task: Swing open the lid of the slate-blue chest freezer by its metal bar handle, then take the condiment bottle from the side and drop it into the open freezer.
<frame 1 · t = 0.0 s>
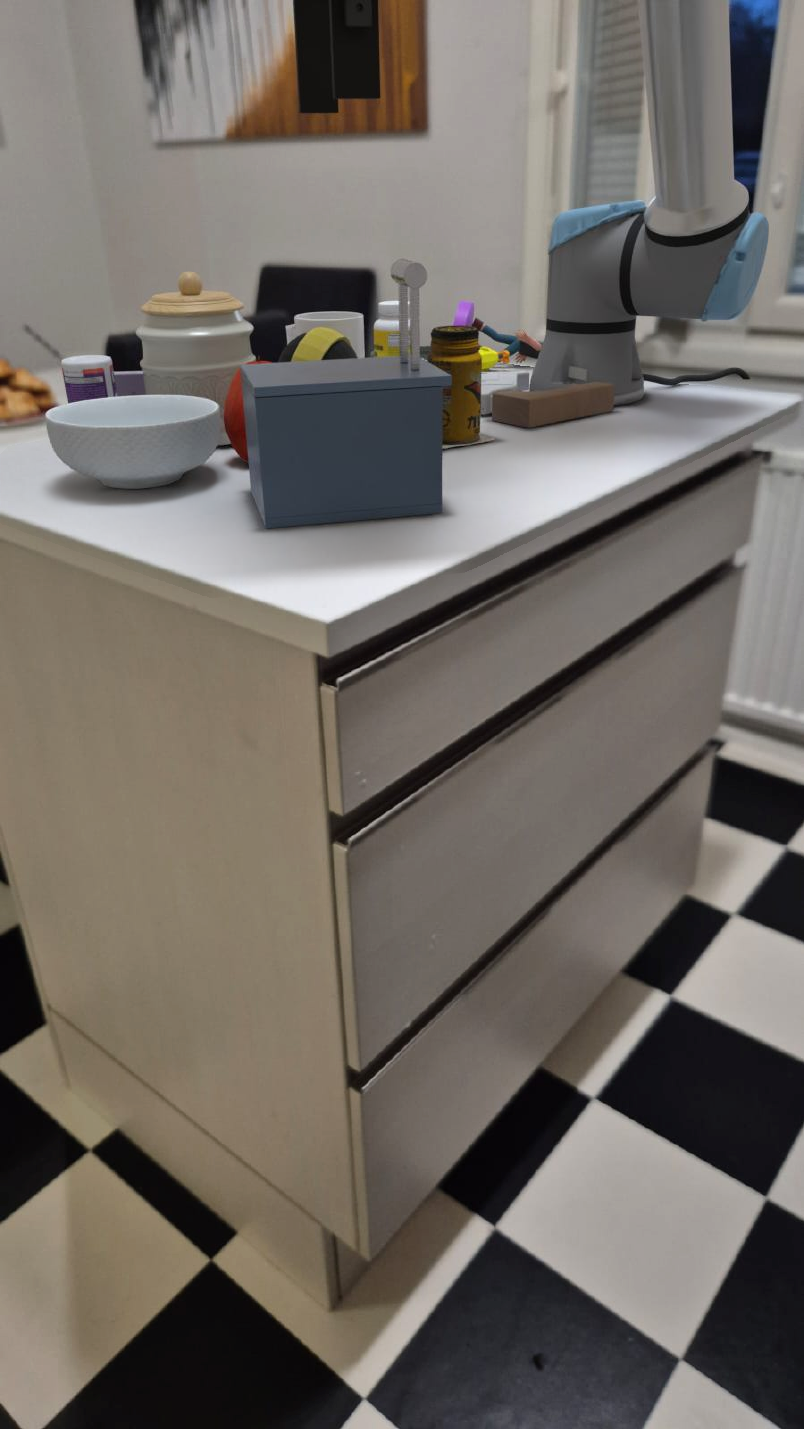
hand: (336, 107, 64), 30 cm above the table, tool pointing down, fingers open, 13 cm apart
grey piece: (409, 379, 150), on the table, touching toy figure
pill bottle 2: (85, 356, 108), point 10 cm above the table
jar: (206, 437, 116), on the table, touching smartphone
bomb: (281, 360, 121), point 7 cm above the table
smartphone: (109, 399, 120), point 3 cm above the table, touching jar
toy figure: (508, 356, 152), point 2 cm above the table, touching grey piece
freezer: (343, 502, 92), on the table
apple: (266, 462, 106), on the table
condiment: (446, 442, 113), on the table
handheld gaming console: (485, 405, 123), point 1 cm above the table
mug: (324, 404, 133), on the table
figurine: (454, 331, 156), point 5 cm above the table
wooden block: (508, 410, 119), point 2 cm above the table
freezer lid: (339, 322, 84), point 16 cm above the table, hinge at 0.0°
pincushion: (429, 375, 132), point 3 cm above the table
pill bottle: (396, 385, 145), on the table
cereal bowl: (143, 481, 100), on the table
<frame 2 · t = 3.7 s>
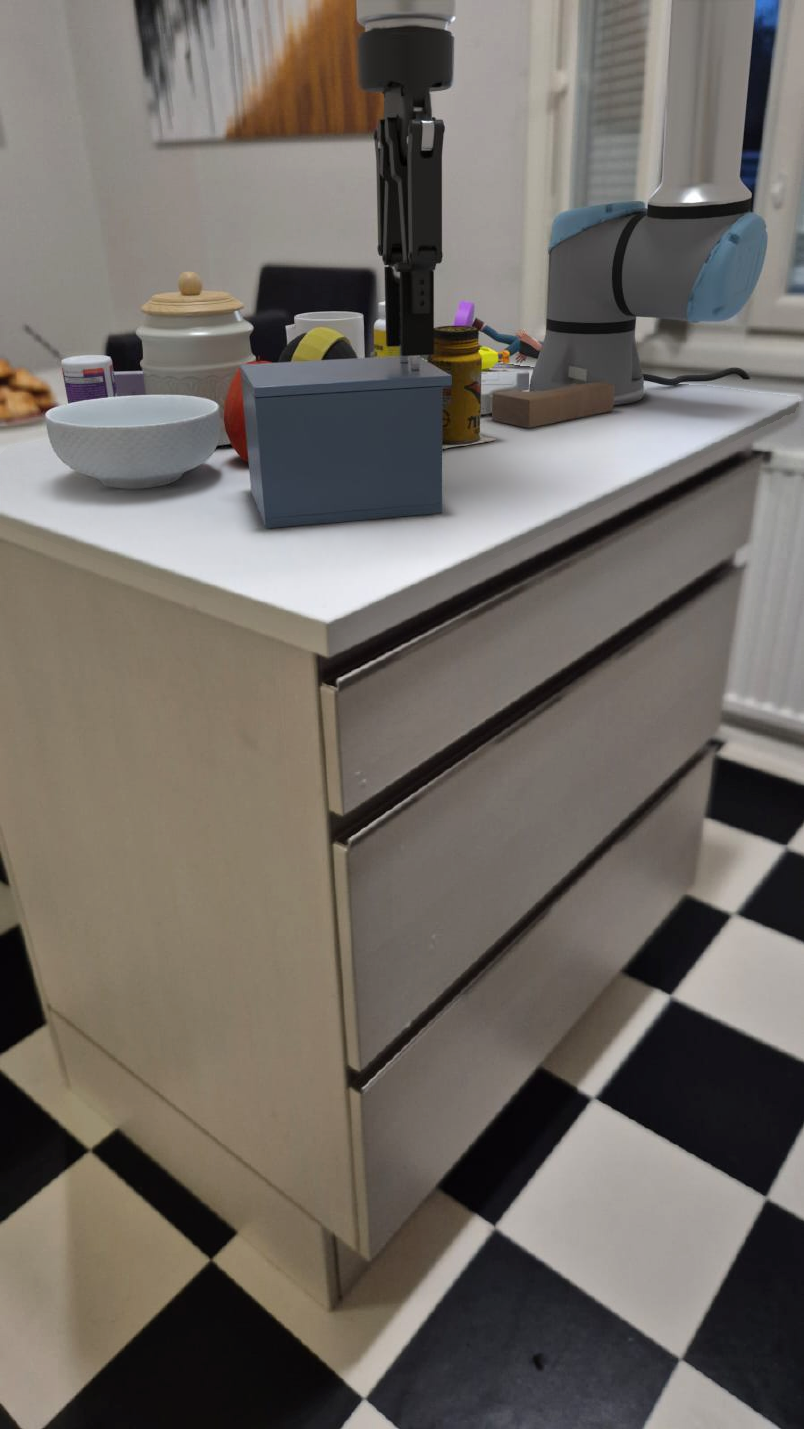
hand: (409, 349, 87), 13 cm above the table, tool pointing down, fingers closed on freezer lid, 5 cm apart
freezer lid: (339, 322, 84), point 16 cm above the table, hinge at 0.0°, touching gripper
everything else where it was.
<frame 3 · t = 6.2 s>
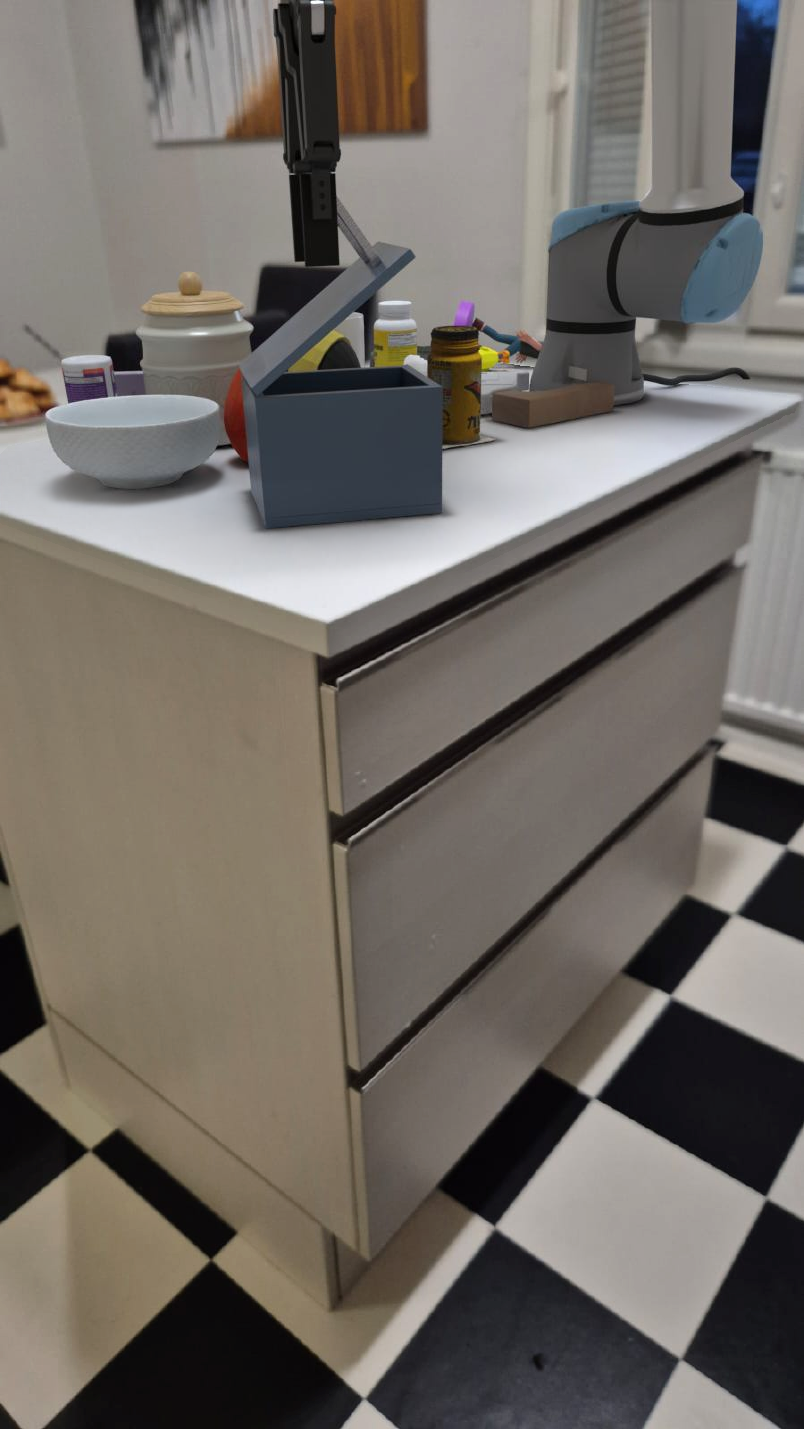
hand: (316, 262, 82), 20 cm above the table, tool pointing down, fingers closed on freezer lid, 5 cm apart
freezer lid: (288, 272, 82), point 20 cm above the table, hinge at 36.4°, touching gripper
everything else where it was.
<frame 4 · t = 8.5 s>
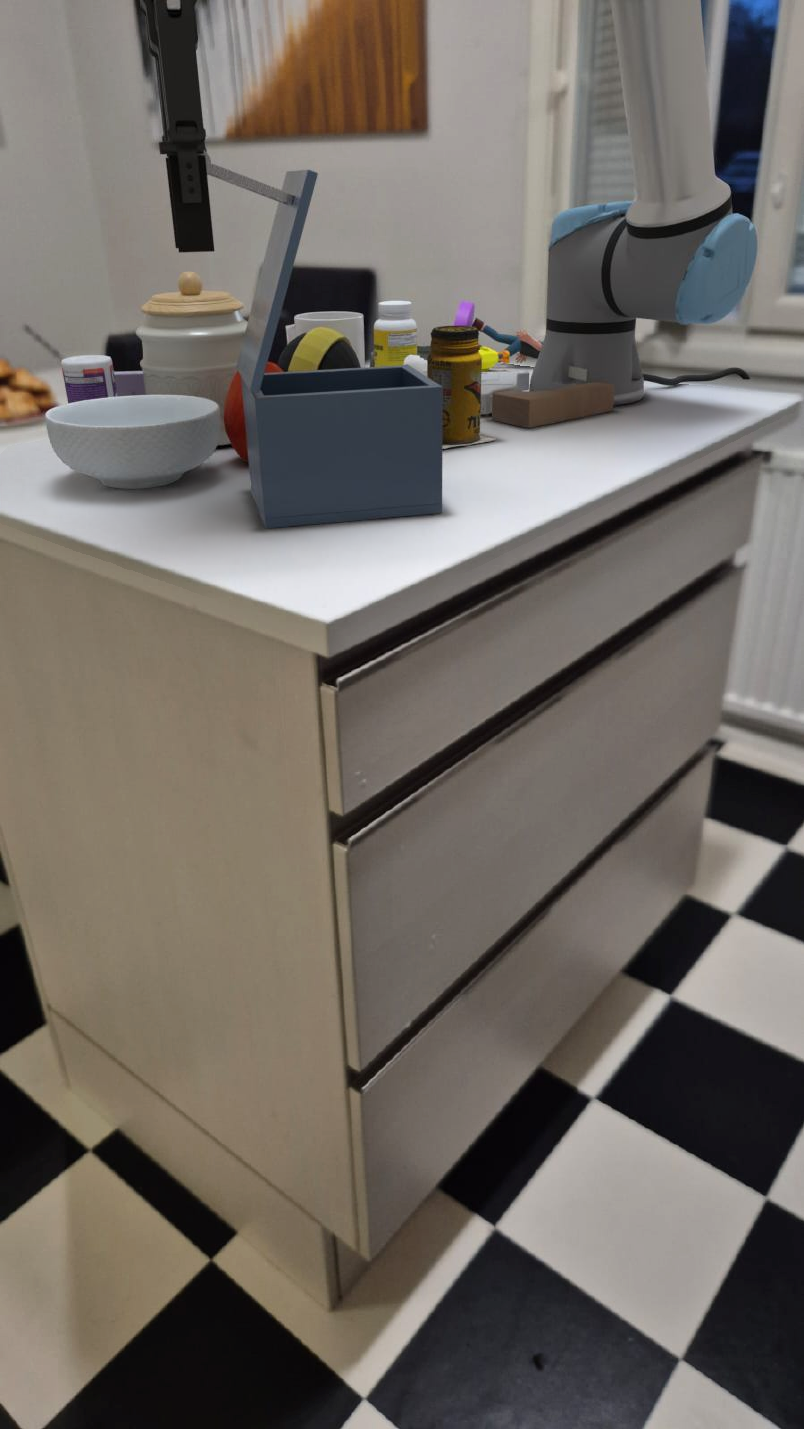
hand: (194, 249, 79), 22 cm above the table, tool pointing down, fingers open, 5 cm apart
freezer lid: (222, 262, 80), point 21 cm above the table, hinge at 69.8°
everything else where it was.
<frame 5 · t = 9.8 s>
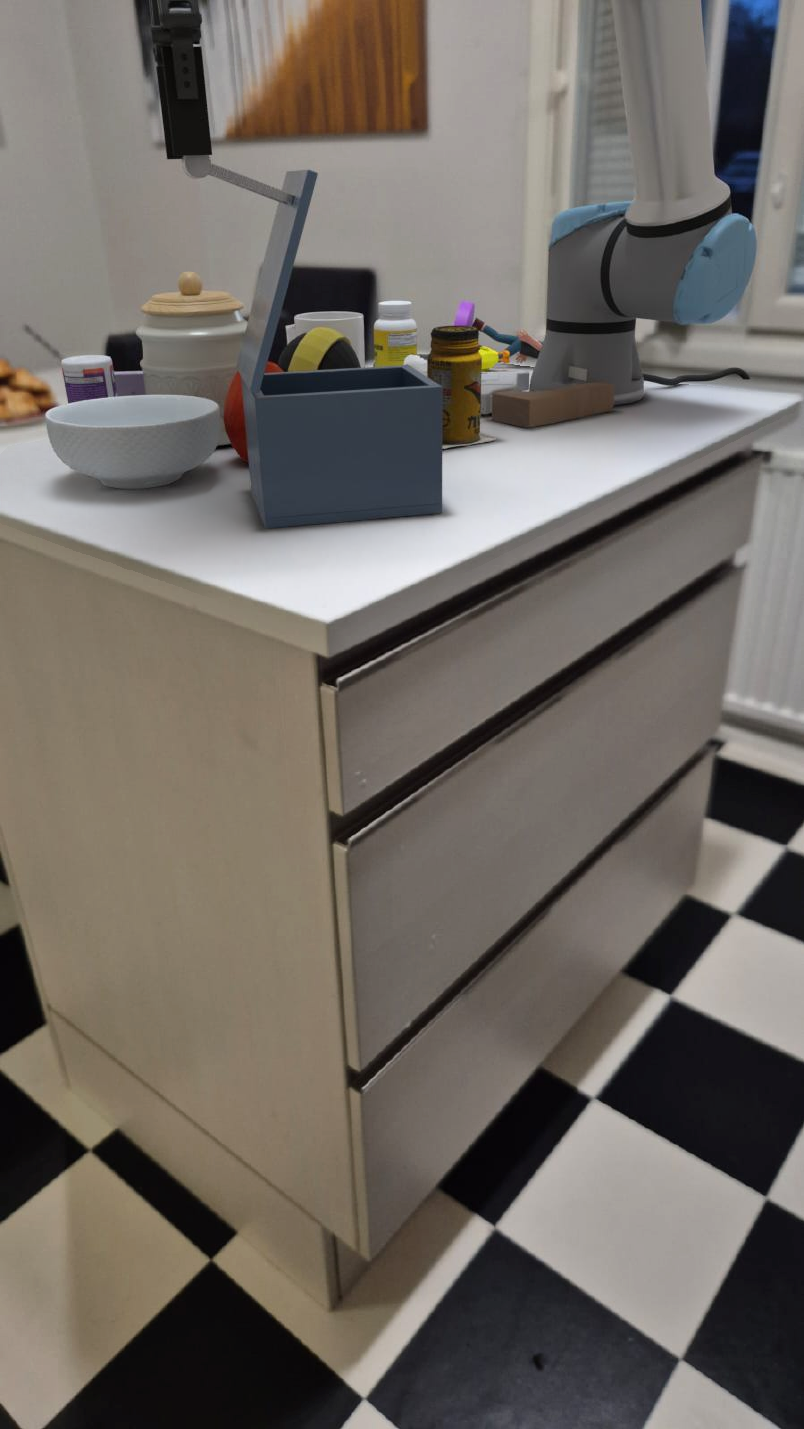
hand: (188, 158, 77), 28 cm above the table, tool pointing down, fingers open, 13 cm apart
grey piece: (406, 380, 149), on the table, touching toy figure
everything else where it was.
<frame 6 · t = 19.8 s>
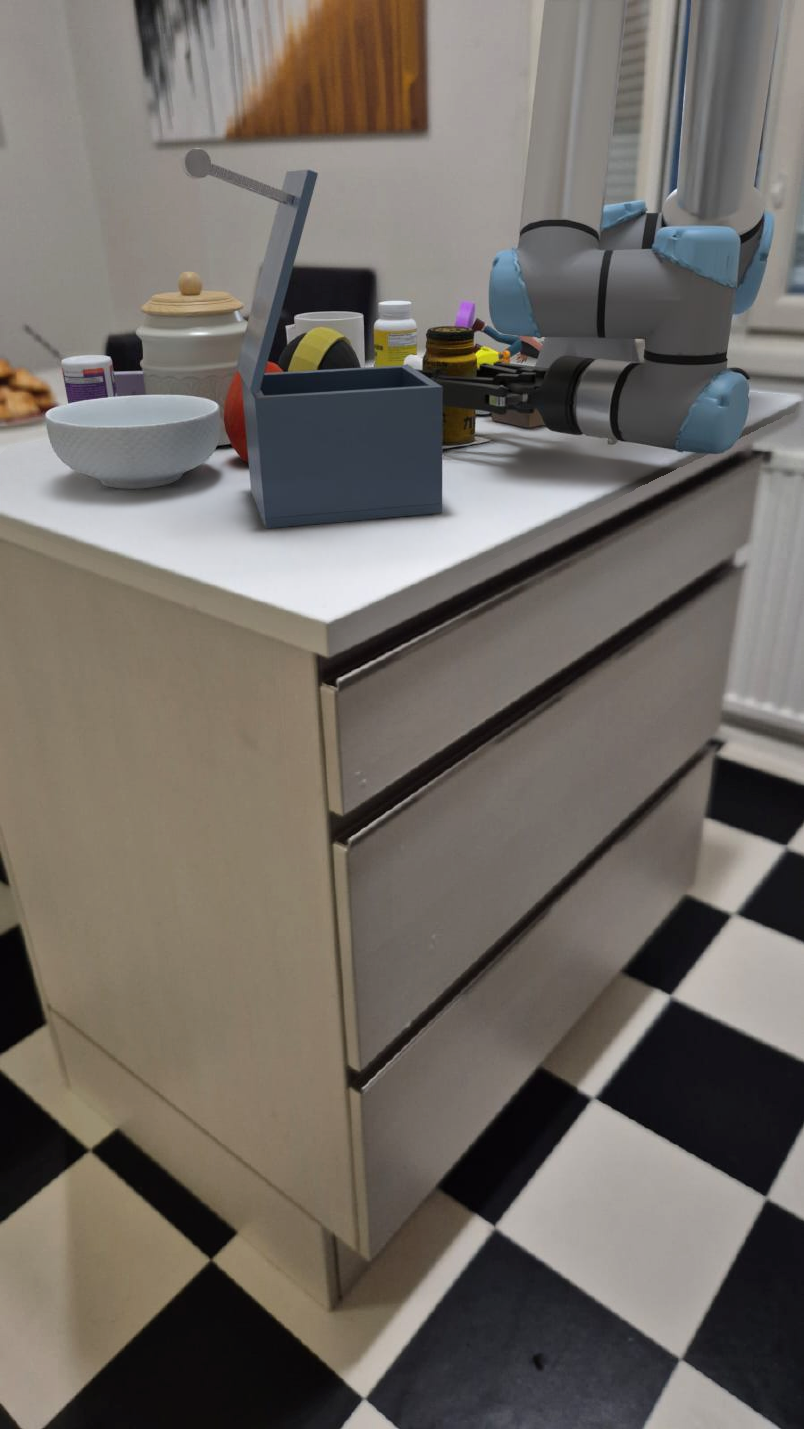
hand: (411, 375, 113), 7 cm above the table, tool horizontal, fingers closed on condiment, 6 cm apart
condiment: (441, 443, 113), on the table, touching gripper
everything else where it was.
when the fingers open (17 cm above the table, at t = 27.2 s): condiment drops 1 cm, point 10 cm above the table.
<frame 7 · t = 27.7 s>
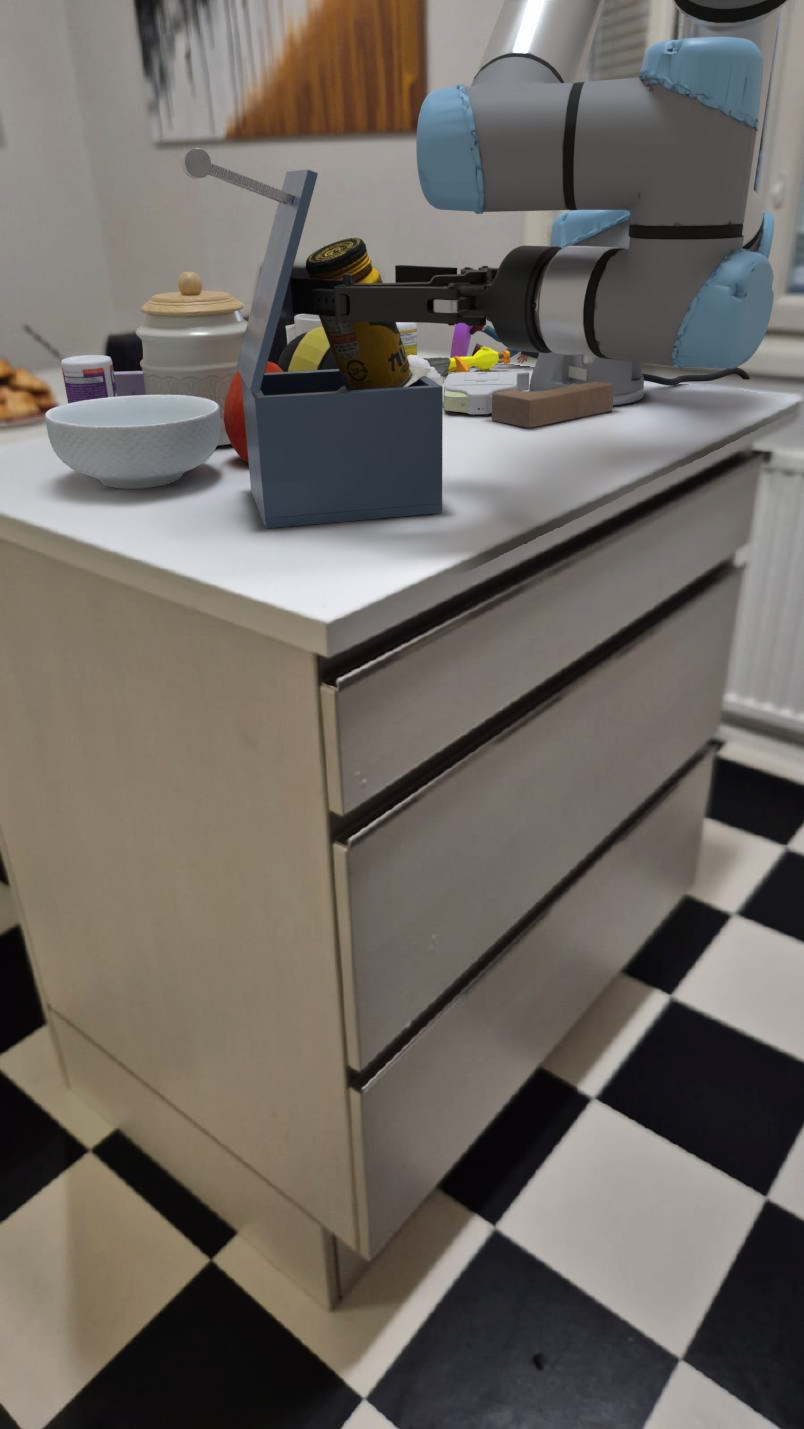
hand: (348, 287, 87), 18 cm above the table, tool horizontal, fingers open, 13 cm apart
condiment: (373, 392, 88), point 10 cm above the table, touching gripper
everything else where it was.
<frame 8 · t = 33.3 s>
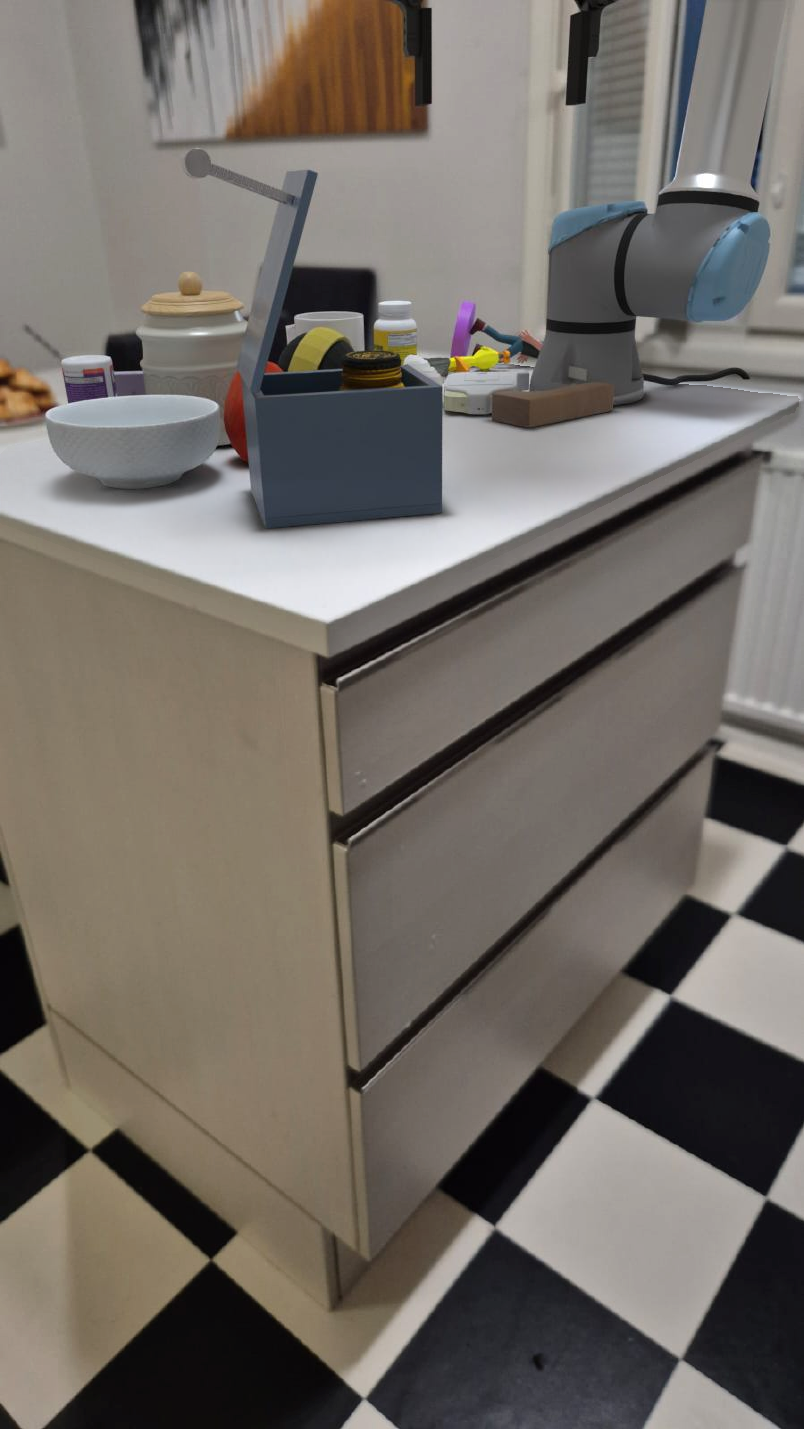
hand: (500, 105, 84), 32 cm above the table, tool pointing down, fingers open, 13 cm apart
toy figure: (509, 356, 152), point 2 cm above the table, touching figurine, grey piece
condiment: (365, 491, 92), point 1 cm above the table, touching freezer
figurine: (456, 332, 156), point 5 cm above the table, touching toy figure
everything else where it was.
at the end: freezer lid at +70° (first picture: +0°); condiment inside the target area in the freezer (2.2 cm from its centre), point 0.7 cm above the freezer's base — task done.
